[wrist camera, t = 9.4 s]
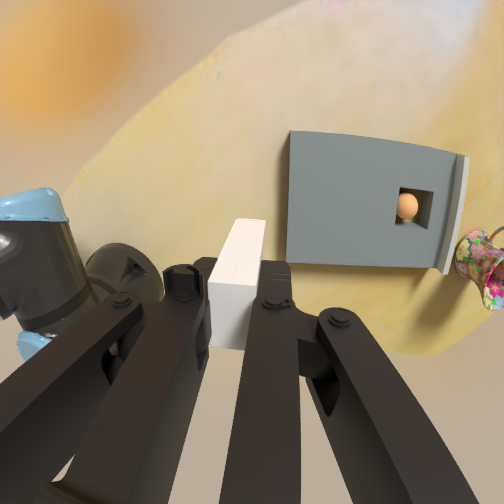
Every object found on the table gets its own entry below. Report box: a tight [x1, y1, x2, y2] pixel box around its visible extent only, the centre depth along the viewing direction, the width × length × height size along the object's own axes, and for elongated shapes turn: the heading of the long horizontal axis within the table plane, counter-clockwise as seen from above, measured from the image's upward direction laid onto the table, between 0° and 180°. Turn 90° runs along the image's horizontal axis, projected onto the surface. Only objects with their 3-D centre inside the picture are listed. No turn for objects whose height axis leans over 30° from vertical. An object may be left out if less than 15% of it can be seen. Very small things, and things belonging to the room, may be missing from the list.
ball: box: [396, 192, 418, 219], centre depth 34 cm, size 4×4×4 cm
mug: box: [455, 226, 504, 311], centre depth 32 cm, size 12×9×11 cm
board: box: [286, 131, 470, 275], centre depth 34 cm, size 24×17×5 cm
